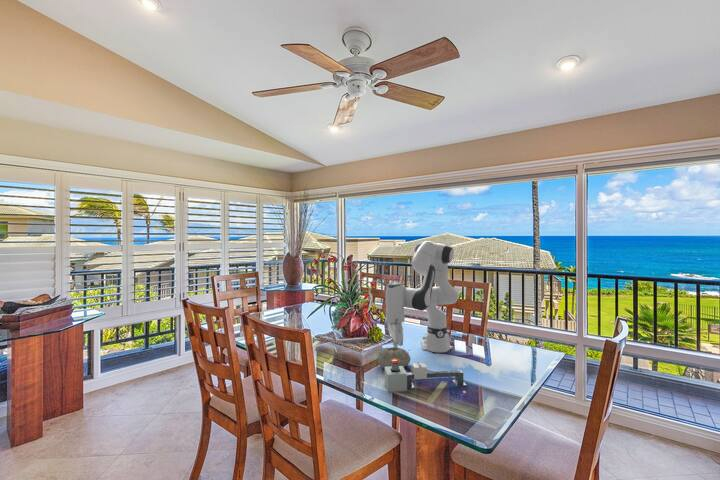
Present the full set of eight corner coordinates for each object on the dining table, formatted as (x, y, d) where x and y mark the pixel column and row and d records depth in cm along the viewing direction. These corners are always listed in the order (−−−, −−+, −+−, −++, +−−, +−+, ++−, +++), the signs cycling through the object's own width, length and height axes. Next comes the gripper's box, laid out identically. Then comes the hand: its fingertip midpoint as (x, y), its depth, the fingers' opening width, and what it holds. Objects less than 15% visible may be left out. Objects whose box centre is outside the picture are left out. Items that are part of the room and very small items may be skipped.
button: (390, 372, 155) (390, 358, 155) (398, 372, 156) (398, 358, 155) (391, 376, 151) (391, 362, 151) (400, 376, 151) (400, 361, 151)
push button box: (384, 383, 158) (384, 366, 157) (402, 382, 158) (402, 365, 158) (387, 392, 149) (387, 374, 148) (407, 391, 149) (406, 373, 149)
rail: (401, 383, 157) (401, 371, 157) (461, 380, 159) (461, 368, 159) (404, 389, 151) (404, 376, 151) (466, 386, 153) (466, 373, 153)
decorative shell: (382, 358, 188) (382, 341, 188) (413, 362, 182) (413, 344, 182) (373, 371, 171) (373, 352, 171) (406, 375, 165) (406, 356, 165)
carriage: (411, 374, 157) (411, 362, 156) (424, 374, 157) (424, 361, 157) (414, 379, 152) (414, 366, 151) (427, 378, 152) (426, 365, 152)
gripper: (406, 322, 143) (406, 353, 143) (397, 311, 163) (397, 339, 163) (392, 323, 142) (392, 354, 142) (384, 312, 163) (385, 339, 163)
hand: (395, 346), depth 153 cm, fingers closed
